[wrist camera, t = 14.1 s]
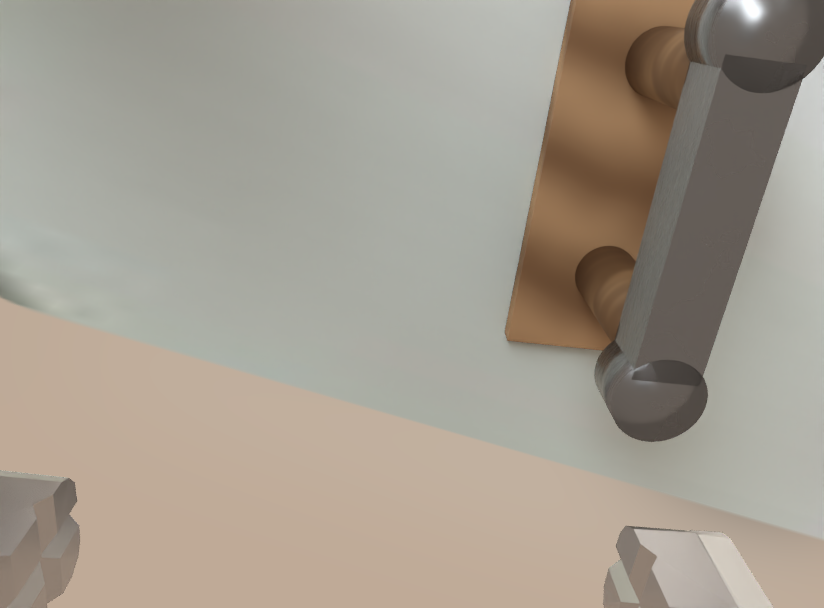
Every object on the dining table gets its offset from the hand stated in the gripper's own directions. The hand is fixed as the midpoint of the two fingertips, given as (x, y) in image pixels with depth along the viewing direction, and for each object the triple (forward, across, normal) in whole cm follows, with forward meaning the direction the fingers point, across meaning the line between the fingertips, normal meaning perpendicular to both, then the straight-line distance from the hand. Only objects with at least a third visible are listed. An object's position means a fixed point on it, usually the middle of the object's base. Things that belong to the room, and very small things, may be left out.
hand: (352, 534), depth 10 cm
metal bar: (+22, -14, 0) cm, 26 cm away
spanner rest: (+31, -14, 0) cm, 34 cm away
